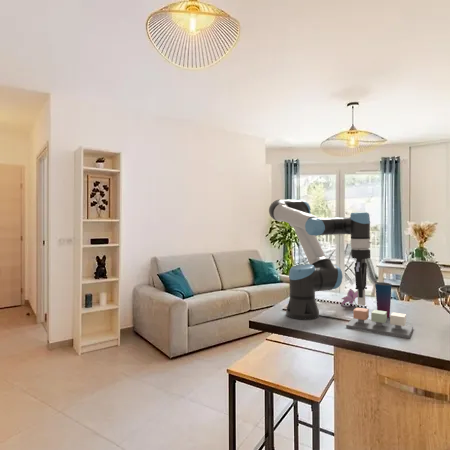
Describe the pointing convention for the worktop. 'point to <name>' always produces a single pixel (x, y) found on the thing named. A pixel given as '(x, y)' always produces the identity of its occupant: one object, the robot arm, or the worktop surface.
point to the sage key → (379, 316)
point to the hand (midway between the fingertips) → (361, 304)
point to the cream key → (398, 319)
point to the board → (380, 327)
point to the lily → (350, 297)
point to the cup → (383, 296)
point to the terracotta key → (361, 313)
